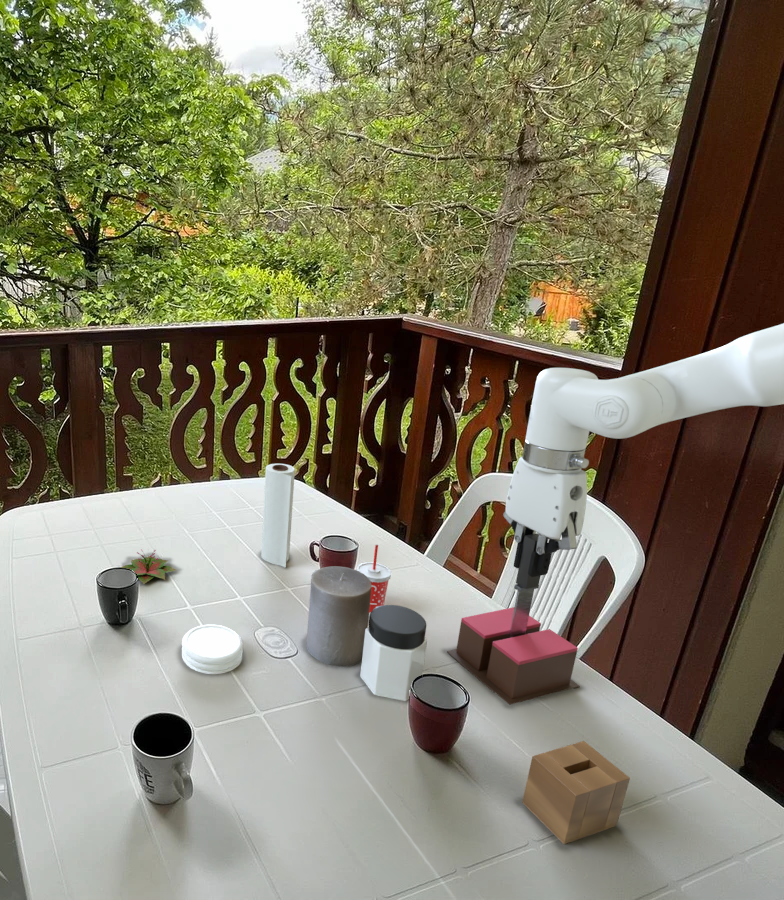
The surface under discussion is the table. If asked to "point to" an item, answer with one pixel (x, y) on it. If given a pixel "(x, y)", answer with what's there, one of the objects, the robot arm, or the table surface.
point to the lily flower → (149, 567)
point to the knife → (524, 588)
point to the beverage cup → (376, 580)
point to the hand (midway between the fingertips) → (530, 569)
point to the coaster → (212, 649)
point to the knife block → (575, 791)
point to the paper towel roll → (277, 513)
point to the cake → (514, 656)
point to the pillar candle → (338, 615)
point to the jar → (393, 651)
